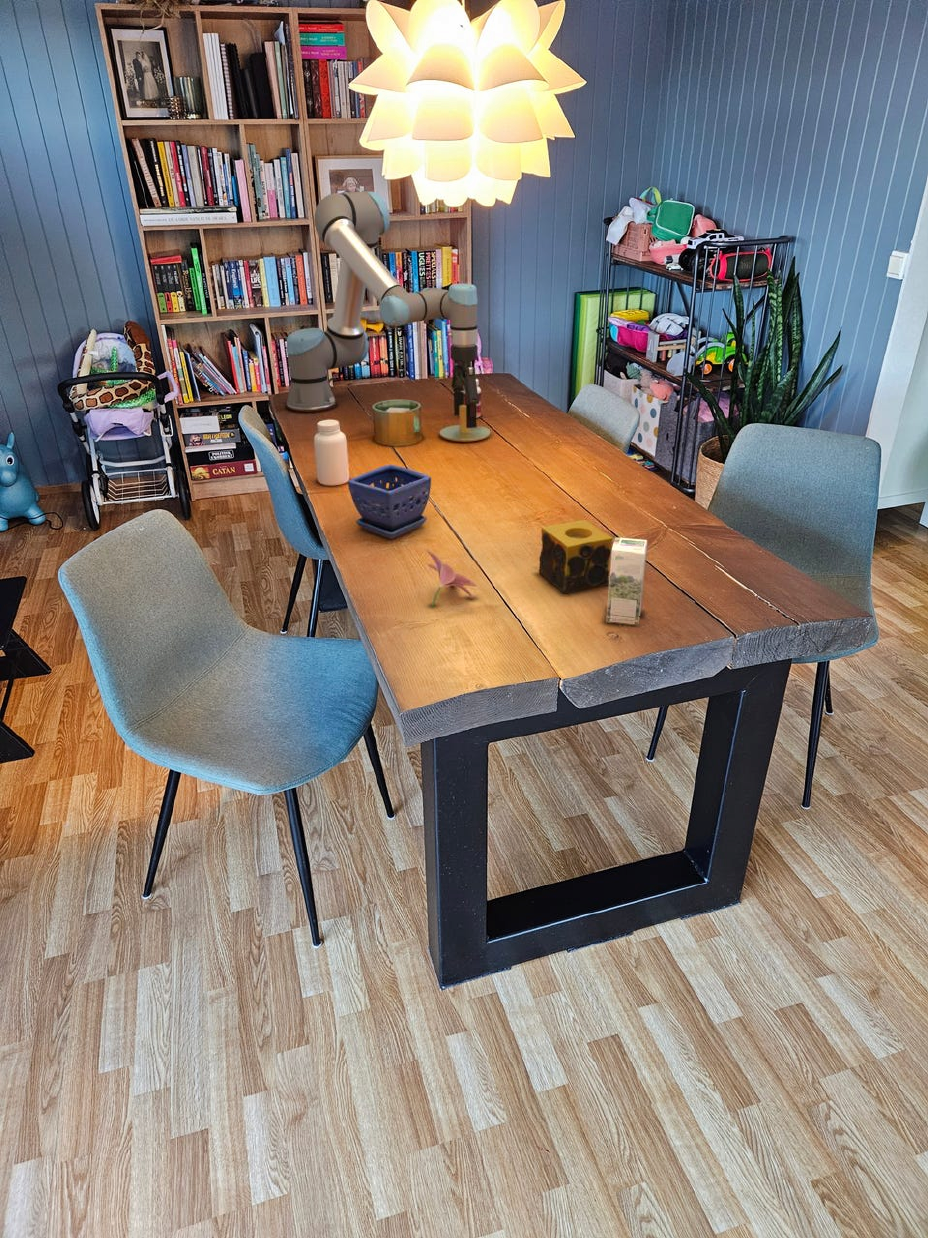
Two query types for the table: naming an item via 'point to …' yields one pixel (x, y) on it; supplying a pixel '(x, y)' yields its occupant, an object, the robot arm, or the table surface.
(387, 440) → the tin
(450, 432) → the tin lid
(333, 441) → the pill bottle
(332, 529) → the table surface
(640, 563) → the syrup box
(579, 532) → the candle
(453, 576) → the lily
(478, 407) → the pill bottle
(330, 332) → the robot arm
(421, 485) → the flower pot
